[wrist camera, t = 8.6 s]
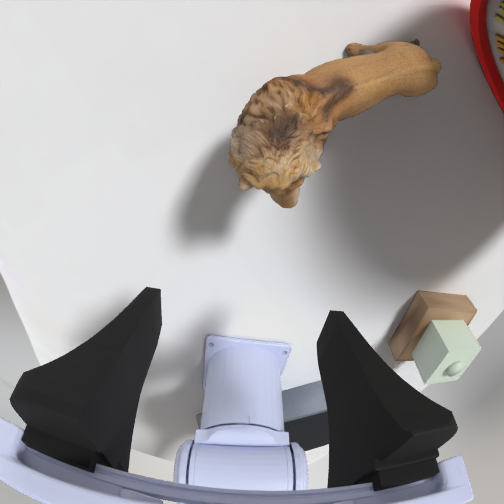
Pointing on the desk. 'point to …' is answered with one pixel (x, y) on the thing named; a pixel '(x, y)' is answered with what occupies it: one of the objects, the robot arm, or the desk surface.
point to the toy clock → (490, 42)
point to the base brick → (428, 319)
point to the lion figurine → (319, 112)
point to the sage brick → (445, 351)
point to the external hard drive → (304, 416)
